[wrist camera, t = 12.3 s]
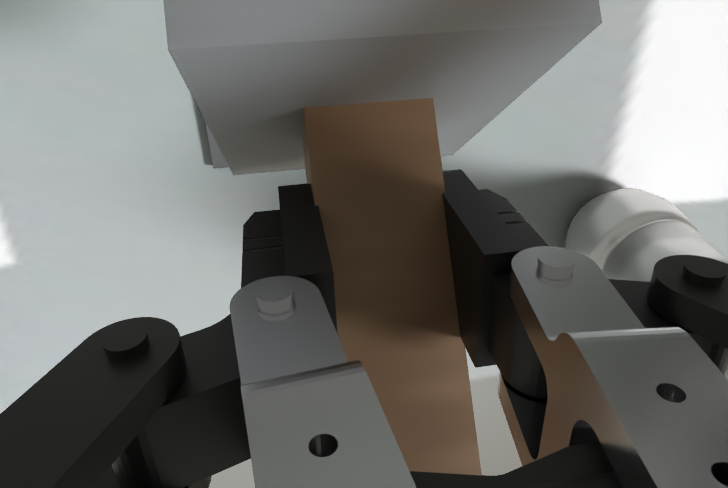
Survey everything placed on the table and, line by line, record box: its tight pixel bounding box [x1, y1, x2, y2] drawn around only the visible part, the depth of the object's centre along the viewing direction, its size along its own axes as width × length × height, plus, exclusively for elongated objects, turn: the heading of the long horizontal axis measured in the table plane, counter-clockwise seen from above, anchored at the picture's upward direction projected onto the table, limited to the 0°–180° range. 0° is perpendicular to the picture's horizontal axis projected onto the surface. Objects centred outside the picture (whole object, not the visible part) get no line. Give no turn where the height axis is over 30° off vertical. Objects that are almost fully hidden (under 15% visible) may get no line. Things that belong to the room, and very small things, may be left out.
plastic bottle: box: [565, 188, 728, 379], centre depth 26 cm, size 6×7×20 cm
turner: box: [164, 0, 602, 475], centre depth 12 cm, size 6×8×9 cm
